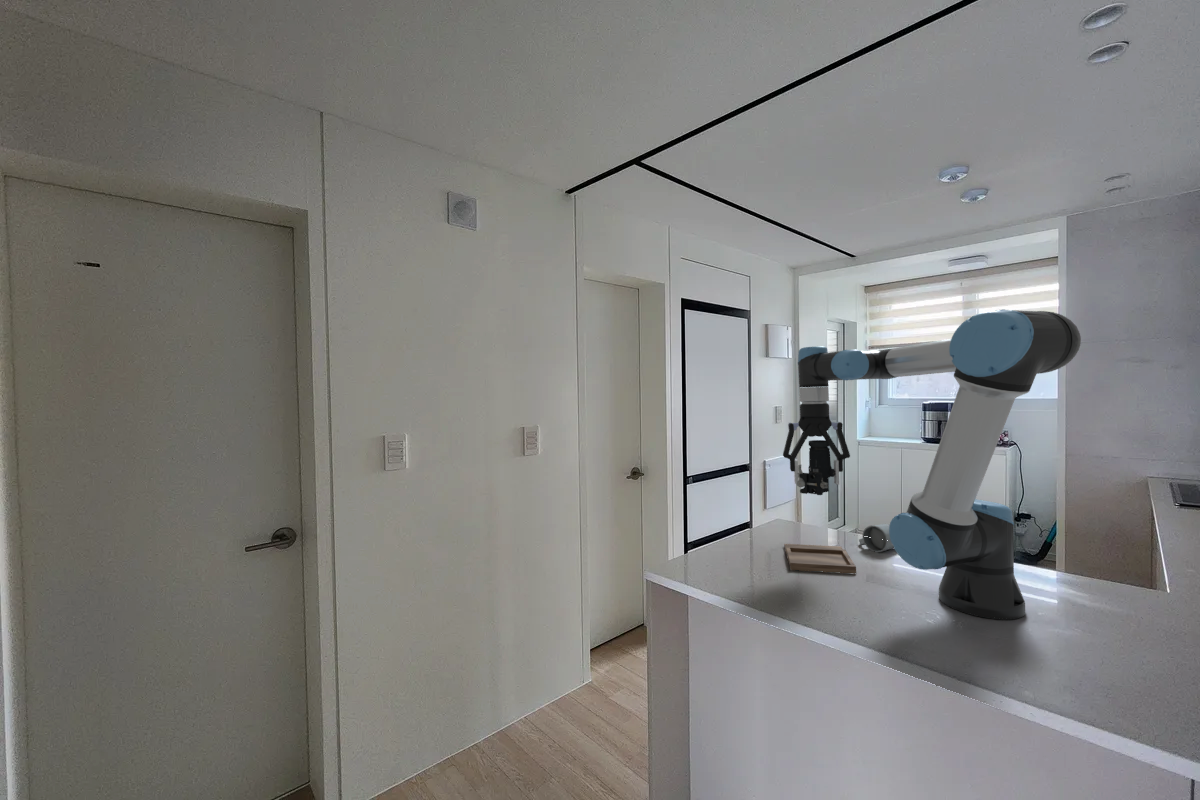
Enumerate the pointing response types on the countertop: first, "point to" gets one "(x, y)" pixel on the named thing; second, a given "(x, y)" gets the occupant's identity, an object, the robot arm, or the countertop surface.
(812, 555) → the wooden tray
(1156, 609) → the countertop surface
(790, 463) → the robot arm
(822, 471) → the scope
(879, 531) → the ceramic mug
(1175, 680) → the countertop surface
